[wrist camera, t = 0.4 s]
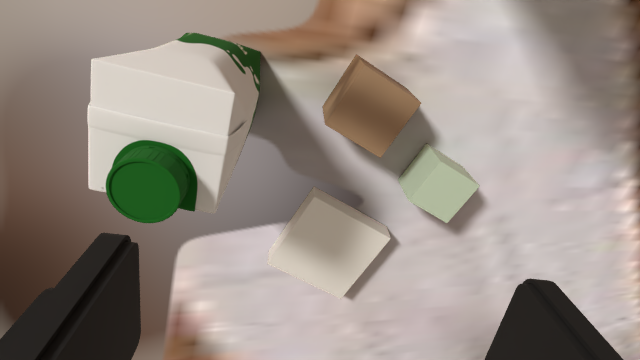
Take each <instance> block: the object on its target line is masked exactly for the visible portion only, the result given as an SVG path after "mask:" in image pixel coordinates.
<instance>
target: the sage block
mask: <svg viewBox="0 0 640 360" xmlns="http://www.w3.org/2000/svg"><path fill="white" fill-rule="evenodd" d="M398 181H399V183H400V185H401V187H402V189H403V191H404V193H405V195H406V197H407V199H408V201H410V202H411V203H413V204H415V205H416V206H418V207H420V208H422V209H423V210H425V211H427V212H428V213H430V214H432V215H434V216H435V217H437V218H439V219H440V220H442V221H444V222H445V223H448V222H449V220H450V219H451V218H452V217H453V216H454V215H455V214H456V213H457V211H458V210H459V209H460V208H461V207H462V206H463V205H464V203H465V202H466V201H467V200H468V199H469V198H470V197H471V195H472V194H473V193H474V192H475V191H476V190H477V189H478V187H479V184H478V183H477V182H476V181H475V180H474V179H473V178H472V177H471V176H470V174H469V173H468V172H467V171H466V170H465V169H464V168H463V167H462V166H461V165H460V164H458V163H456V162H455V161H453V160H452V159H450V158H449V157H447V156H445V155H444V154H442V153H441V152H439V151H438V150H436V149H435V148H433V147H431V146H430V145H428V144H427V143H426V145H425V146H424V147H423V149H422V150H421V151H420V152H419V154H418V155H417V156H416V158H415V159H414V160H413V161H412V163H411V164H410V165H409V166H408V168H407V169H406V170H405V172H404V173H403V174H402V175H401V177H400V178H399V179H398Z"/></svg>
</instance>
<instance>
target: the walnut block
mask: <svg viewBox="0 0 640 360" xmlns="http://www.w3.org/2000/svg"><path fill="white" fill-rule="evenodd" d="M420 104H421V102H420V101H419V100H418V99H417V98H416V97H415V96H414V95H413V94H412V93H411V92H410V91H409V90H408V89H407V88H405V87H404V86H403V85H401V84H400V83H398V82H397V81H395V80H394V79H392V78H391V77H389V76H388V75H386V74H385V73H383V72H382V71H380V70H379V69H377V68H376V67H374V66H373V65H371V64H370V63H368V62H367V61H365V60H364V59H363V58H361V57H360V56H358V55H357V54H356V56H355V57H354V59H353V60H352V62H351V63H350V65H349V66H348V68H347V70H346V71H345V73H344V74H343V76H342V77H341V79H340V80H339V82H338V83H337V85H336V87H335V88H334V90H333V91H332V93H331V94H330V96H329V97H328V99H327V100H326V102H325V104H324V105H323V113H324V120H325V125H327V126H328V127H330V128H332V129H333V130H335V131H337V132H338V133H340V134H342V135H343V136H345V137H347V138H348V139H350V140H352V141H353V142H355V143H357V144H358V145H360V146H362V147H363V148H365V149H366V150H368V151H370V152H371V153H373V154H375V155H376V156H378V157H380V158H381V156H382V155H383V154H384V152H385V151H386V150H387V148H388V147H389V146H390V144H391V143H392V142H393V140H394V139H395V138H396V136H397V135H398V134H399V132H400V131H401V130H402V128H403V127H404V126H405V124H406V123H407V122H408V120H409V119H410V118H411V116H412V115H413V114H414V112H415V111H416V110H417V108H418V107H419V106H420Z"/></svg>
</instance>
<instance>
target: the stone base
mask: <svg viewBox="0 0 640 360" xmlns="http://www.w3.org/2000/svg"><path fill="white" fill-rule="evenodd" d="M390 239H391V238H390V235H389V232H388V229H387V226H385V225H383V224H381V223H379V222H378V221H376V220H374V219H372V218H370V217H368V216H367V215H365V214H363V213H361V212H359V211H358V210H356V209H354V208H352V207H350V206H349V205H347V204H345V203H343V202H341V201H340V200H338V199H336V198H334V197H332V196H330V195H329V194H327V193H325V192H323V191H321V190H320V189H318V188H316V187H313V188H312V190H311V191H310V193H309V194H308V195H307V197H306V198H305V200H304V201H303V203H302V204H301V206H300V207H299V208H298V210H297V211H296V213H295V214H294V216H293V217H292V218H291V220H290V221H289V223H288V224H287V226H286V227H285V228H284V230H283V231H282V233H281V234H280V236H279V237H278V239H277V240H276V241H275V243H274V244H273V246H272V247H271V249H270V250H269V254H268V262H267V264H269V265H271V266H273V267H275V268H277V269H279V270H281V271H283V272H285V273H287V274H290V275H292V276H294V277H296V278H298V279H300V280H302V281H304V282H306V283H308V284H310V285H313V286H315V287H317V288H319V289H321V290H323V291H325V292H327V293H329V294H331V295H333V296H336V297H338V298H340V299H341V298H342V297H343V296H344V294H345V293H346V292H347V291H348V290H349V288H350V287H351V286H352V285H353V284H354V282H355V281H356V280H357V279H358V278H359V276H360V275H361V274H362V273H363V272H364V270H365V269H366V268H367V267H368V265H369V264H370V263H371V262H372V261H373V259H374V258H375V257H376V256H377V255H378V253H379V252H380V251H381V250H382V249H383V247H384V246H385V245H386V244H387V243H388V241H389V240H390Z"/></svg>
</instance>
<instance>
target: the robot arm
mask: <svg viewBox="0 0 640 360" xmlns="http://www.w3.org/2000/svg"><path fill="white" fill-rule="evenodd" d="M140 322H141V321H140V283H139V249H138V244H137V243H134V242H131V239H130V237H129V236H128V235H119V234H110V233H101V234H100V235H99V236H98V237H97V238H96V239H95V240H94V242H93V243H92V244H91V245H90V246H89V248H88V249H87V250H86V251H85V252H84V253H83V255H82V256H81V257H80V258H79V259H78V261H77V262H76V263H75V264H74V265H73V266H72V268H71V269H70V270H69V271H68V272H67V274H66V275H65V276H64V277H63V278H62V279H61V281H60V282H59V283H58V284H57V285H56V287H55V288H49V289H46V290H45V291H43V292H42V293H41V294H40V295H39V296H38V297H37V298H36V299H35V300H34V302H33V303H32V304H31V305H30V306H29V307H28V308H27V310H26V311H25V312H24V313H23V314H22V315H21V316H20V318H19V319H18V320H17V321H16V322H15V323H14V325H12V327H11V328H10V329H9V330H8V331H7V332H6V334H5V335H4V336H3V337H2V338H1V339H0V360H131V359H132V357H133V355H134V352H135V350H136V348H137V346H138V343H139V339H140V333H141V324H140ZM485 360H623V359H622V358H621V357H620V355H619V354H618V353H617V352H616V351H615V350H614V349H613V348H612V346H611V345H610V344H609V343H608V342H607V341H606V340H605V339H604V338H603V336H602V335H601V334H600V333H599V332H598V331H597V330H596V329H595V327H594V326H593V325H592V324H591V323H590V322H589V321H588V320H587V318H586V317H585V316H584V315H583V314H582V313H581V312H580V311H579V310H578V308H577V307H576V306H575V305H574V304H573V303H572V302H571V301H570V299H569V298H568V297H567V296H566V295H565V294H564V293H563V292H562V290H561V289H560V288H559V287H558V286H557V285H556V284H555V283H554V282H552V281H547V280H537V279H527V280H525V281H524V282H523V284H520V285H518V286H517V288H516V290H515V292H514V295H513V297H512V299H511V301H510V304H509V306H508V308H507V310H506V313H505V315H504V317H503V319H502V322H501V324H500V326H499V328H498V331H497V333H496V335H495V337H494V340H493V342H492V344H491V346H490V349H489V351H488V353H487V355H486V358H485Z"/></svg>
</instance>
